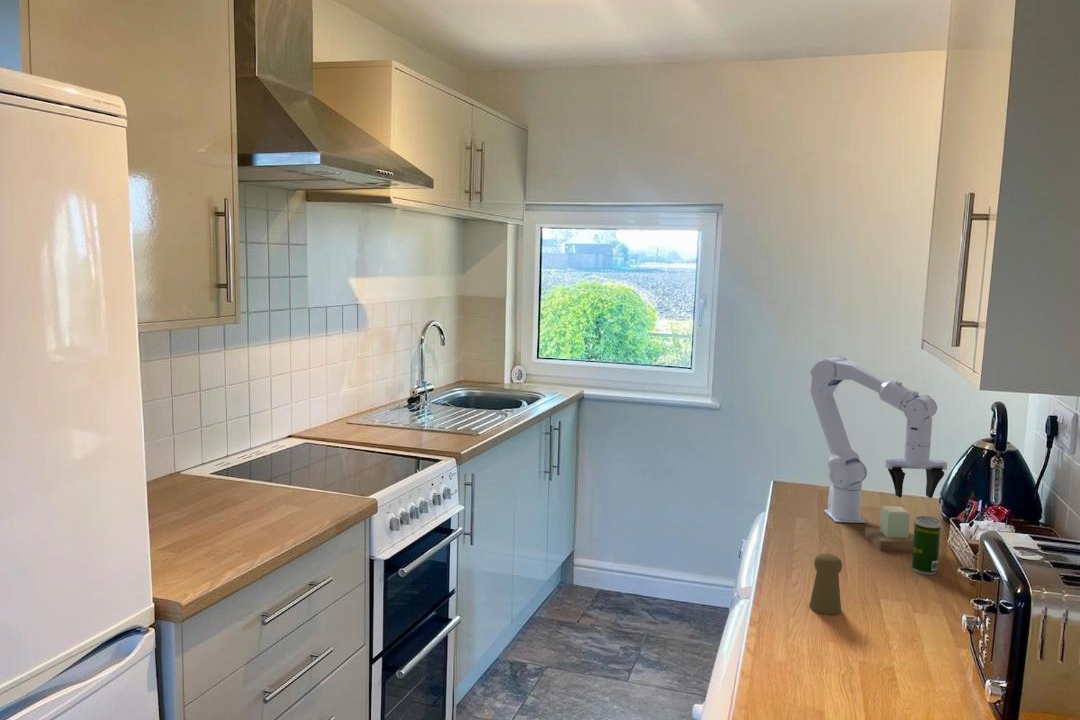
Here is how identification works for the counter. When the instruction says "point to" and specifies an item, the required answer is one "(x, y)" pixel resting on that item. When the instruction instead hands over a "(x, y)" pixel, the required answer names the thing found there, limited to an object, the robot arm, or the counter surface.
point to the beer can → (926, 545)
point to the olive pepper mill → (826, 585)
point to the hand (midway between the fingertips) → (913, 496)
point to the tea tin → (894, 522)
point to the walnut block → (888, 540)
